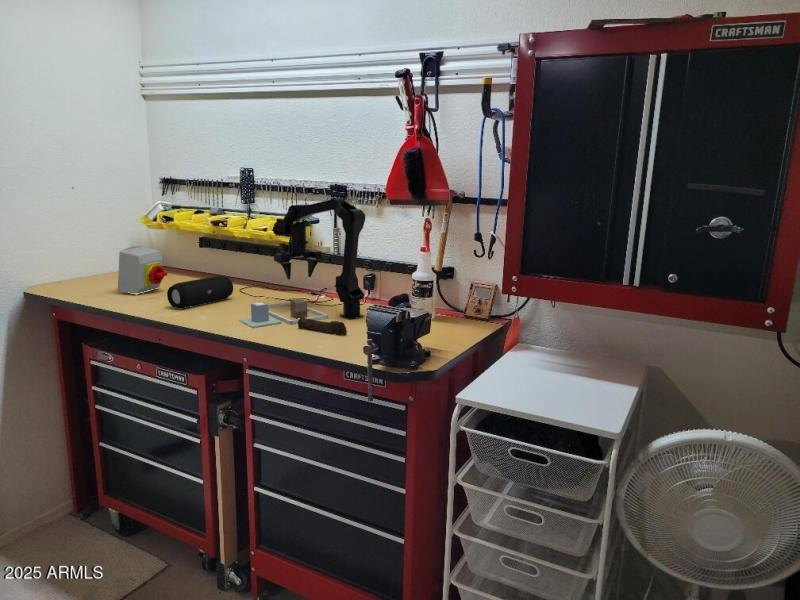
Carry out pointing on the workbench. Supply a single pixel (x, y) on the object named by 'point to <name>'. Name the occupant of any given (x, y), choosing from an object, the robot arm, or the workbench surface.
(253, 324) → the mat
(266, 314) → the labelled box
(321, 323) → the hand tool
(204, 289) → the portable speaker
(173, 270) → the workbench surface
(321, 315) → the flat rectangular frame
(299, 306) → the plain box
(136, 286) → the electrical switch box
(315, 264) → the robot arm
